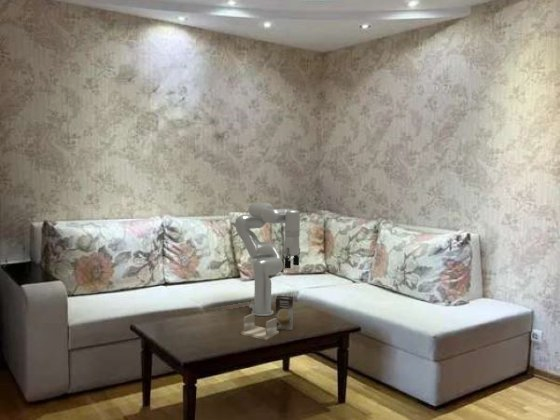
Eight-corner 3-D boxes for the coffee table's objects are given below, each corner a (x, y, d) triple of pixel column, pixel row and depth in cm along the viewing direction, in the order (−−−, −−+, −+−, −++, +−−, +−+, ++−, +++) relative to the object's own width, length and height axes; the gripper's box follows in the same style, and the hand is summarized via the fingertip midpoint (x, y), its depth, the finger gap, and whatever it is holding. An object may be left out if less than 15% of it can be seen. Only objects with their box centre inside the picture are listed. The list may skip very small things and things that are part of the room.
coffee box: (274, 329, 260) (275, 298, 259) (275, 325, 266) (276, 295, 265) (292, 330, 259) (293, 299, 258) (293, 326, 266) (293, 296, 264)
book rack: (240, 334, 251) (240, 318, 251) (254, 327, 262) (254, 312, 261) (266, 340, 244) (266, 323, 243) (279, 333, 254) (279, 317, 253)
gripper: (293, 231, 272) (292, 263, 273) (278, 235, 257) (277, 268, 258) (305, 232, 269) (305, 264, 270) (291, 236, 253) (290, 270, 255)
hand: (291, 266), depth 264 cm, fingers open, 9 cm apart
